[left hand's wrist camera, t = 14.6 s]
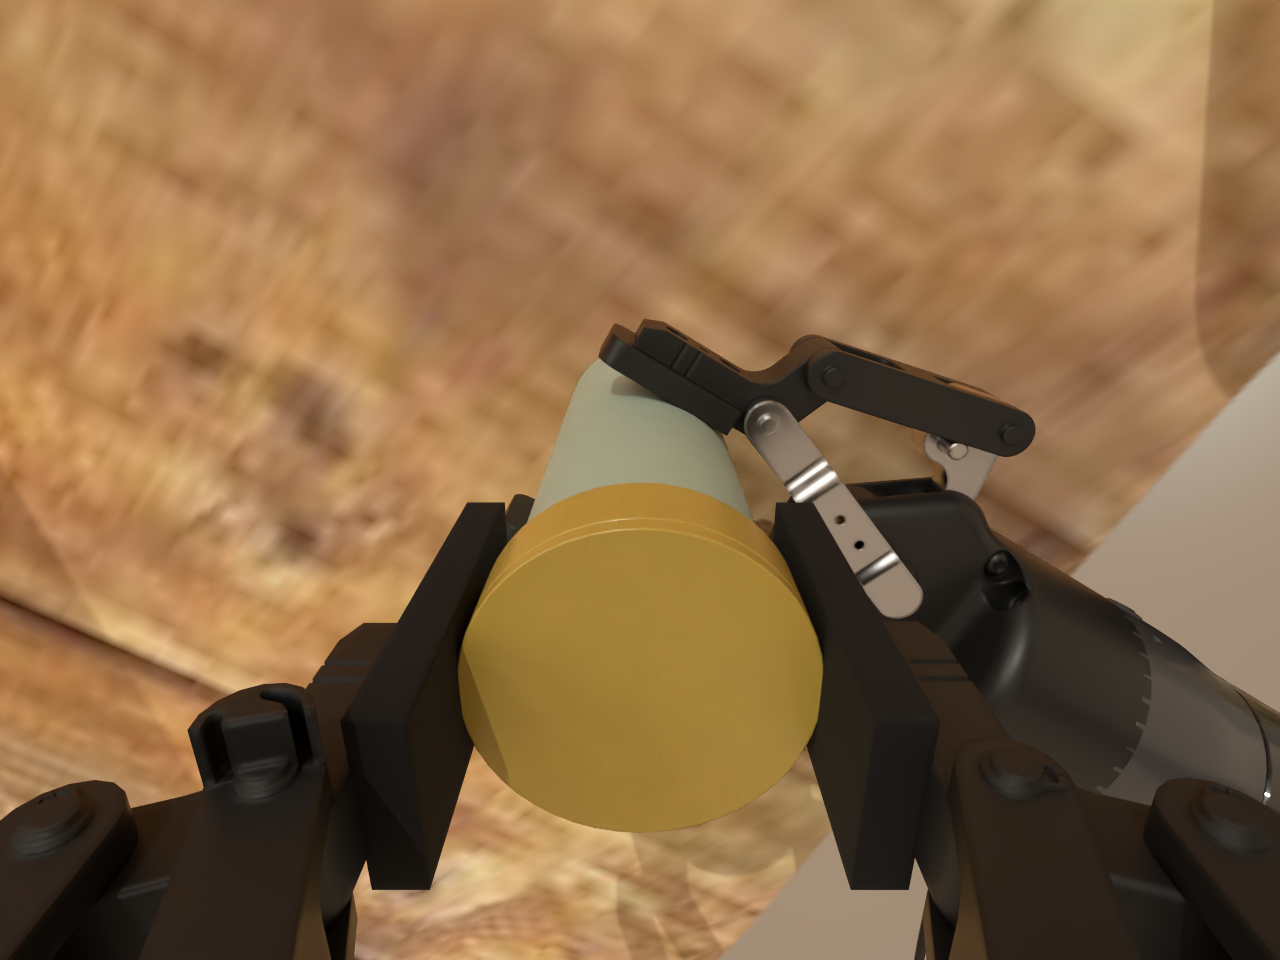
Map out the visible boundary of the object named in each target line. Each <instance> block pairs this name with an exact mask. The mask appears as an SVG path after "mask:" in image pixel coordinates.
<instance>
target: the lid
mask: <svg viewBox="0 0 1280 960" xmlns="http://www.w3.org/2000/svg"><path fill="white" fill-rule="evenodd" d="M822 677H823V655H822V652H821V648H820V644H819V641H818V637H817V634H816V632H815V629H814V627H813V625H812V622H811V620H810V617H809V615H808V612H807V610H806V607H805V605H804V603H803V600H802V598H801V595H800V593H799V590H798V588H797V586H796V583H795V581H794V578H793V576H792V574H791V572H790V570H789V567H788V565H787V563H786V561H785V559H784V558H783V556H782V555H781V553H780V552H779V550H778V549H777V547H776V546H775V544H774V543H773V542H772V541H771V540H770V539H769V537H768V536H767V535H766V534H765V533H764V532H763V531H762V530H761V529H760V528H759V527H758V526H757V525H756V524H754V523H753V522H752V521H751V520H750V519H749V518H747V517H746V516H745V515H743V514H742V513H740V512H739V511H737V510H736V509H734V508H733V507H731V506H729V505H728V504H726V503H723V502H721V501H719V500H717V499H715V498H713V497H711V496H709V495H706V494H703V493H700V492H697V491H694V490H691V489H688V488H683V487H678V486H673V485H668V484H658V483H644V482H641V483H621V484H615V485H609V486H603V487H597V488H594V489H591V490H588V491H584V492H581V493H578V494H575V495H573V496H571V497H568V498H566V499H564V500H562V501H559V502H557V503H555V504H554V505H552V506H551V507H549V508H547V509H546V510H544V511H542V512H541V513H539V514H538V515H536V516H535V517H534V518H533V519H532V520H530V521H529V522H528V523H527V524H525V525H524V526H523V527H522V528H521V529H520V530H519V531H518V532H517V533H516V534H515V535H514V537H513V538H512V539H511V540H510V541H509V542H508V543H507V545H506V546H505V548H504V549H503V551H502V552H501V553H500V555H499V556H498V558H497V560H496V562H495V564H494V566H493V568H492V570H491V572H490V574H489V576H488V578H487V581H486V583H485V586H484V588H483V591H482V593H481V596H480V598H479V600H478V603H477V605H476V608H475V610H474V613H473V615H472V617H471V620H470V622H469V625H468V627H467V630H466V632H465V636H464V639H463V642H462V645H461V648H460V652H459V659H458V679H459V689H460V698H461V707H462V714H463V720H464V723H465V726H466V729H467V732H468V733H469V735H470V737H471V739H472V741H473V743H474V745H475V747H476V749H477V750H478V752H479V753H480V755H481V756H482V758H483V759H484V760H485V762H486V763H487V765H488V766H489V767H490V768H491V769H492V770H493V771H494V772H495V773H496V774H497V776H498V777H499V778H500V779H501V780H502V781H503V782H505V783H506V784H507V785H508V786H509V787H510V788H512V789H513V790H514V791H515V792H516V793H518V794H519V795H521V796H522V797H524V798H525V799H527V800H528V801H530V802H531V803H533V804H534V805H536V806H538V807H540V808H542V809H544V810H546V811H548V812H550V813H552V814H554V815H556V816H559V817H561V818H564V819H567V820H569V821H572V822H575V823H579V824H582V825H586V826H590V827H594V828H599V829H605V830H612V831H620V832H637V833H640V832H662V831H669V830H676V829H683V828H687V827H691V826H695V825H699V824H703V823H706V822H709V821H712V820H714V819H717V818H720V817H723V816H725V815H727V814H729V813H731V812H733V811H735V810H738V809H740V808H742V807H743V806H745V805H747V804H748V803H750V802H751V801H753V800H755V799H756V798H758V797H759V796H761V795H762V794H763V793H765V792H766V791H767V790H768V789H770V788H771V787H772V786H773V785H775V784H776V783H777V782H778V781H779V780H780V779H781V778H782V777H783V776H784V775H785V774H786V773H787V772H788V771H789V770H790V769H791V767H792V766H793V765H794V763H795V762H796V761H797V759H798V758H799V757H800V755H801V754H802V753H803V751H804V749H805V747H806V745H807V744H808V742H809V740H810V738H811V736H812V734H813V732H814V729H815V726H816V724H817V720H818V713H819V704H820V695H821V686H822Z"/></svg>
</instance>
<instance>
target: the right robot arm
mask: <svg viewBox="0 0 1280 960" xmlns="http://www.w3.org/2000/svg"><path fill="white" fill-rule="evenodd" d="M599 358H600V359H601V360H602V361H603V362H604V363H605V364H607V365H608V366H609V367H611V368H612V369H614V370H616V371H617V372H619V373H621V374H623V375H624V376H626V377H628V378H629V379H631V380H633V381H634V382H636V383H638V384H640V385H641V386H643V387H645V388H646V389H648V390H650V391H652V392H653V393H655V394H657V395H658V396H660V397H662V398H663V399H665V400H667V401H669V402H670V403H672V404H674V405H675V406H677V407H679V408H680V409H682V410H684V411H686V412H688V413H690V414H692V415H694V416H695V417H697V418H698V419H699V420H701V421H703V422H704V423H706V424H708V425H709V426H711V427H713V428H715V429H716V430H718V431H720V432H721V433H723V434H725V435H728V433H729V432H730V430H731V429H732V427H733V428H735V429H736V430H738V431H740V432H742V433H743V434H745V435H746V436H747V438H748V439H749V441H750V442H751V443H752V444H753V446H754V447H755V448H756V450H757V451H758V452H759V453H760V455H761V456H762V457H763V458H764V460H765V461H766V462H767V464H768V465H769V466H770V467H771V469H772V470H773V471H774V473H775V474H776V475H777V476H778V478H779V479H780V480H781V482H782V483H783V484H784V485H785V487H786V488H787V490H788V491H789V493H790V494H791V498H790V499H789V500H788V502H787V503H814V505H815V506H816V508H817V510H818V512H819V513H820V515H821V517H822V518H823V520H824V522H825V524H826V525H827V527H828V529H829V530H830V532H831V534H832V536H833V537H834V539H835V541H836V542H837V544H838V546H839V548H840V549H841V551H842V553H843V554H844V556H845V558H846V560H847V561H848V563H849V565H850V567H851V568H852V570H853V572H854V573H855V575H856V577H857V579H858V580H859V582H860V584H861V585H862V587H863V589H864V591H865V592H866V594H867V596H868V597H869V599H870V601H871V603H872V604H873V606H874V608H875V609H876V611H877V613H878V615H879V616H880V618H881V620H882V621H918V622H920V623H921V624H922V625H924V626H925V627H927V628H928V629H929V630H931V631H932V632H934V633H935V634H936V635H938V636H939V637H941V638H942V639H943V641H944V642H945V643H946V645H947V646H948V648H949V649H950V651H951V652H952V654H953V655H954V656H955V658H956V659H957V660H956V661H957V663H959V664H960V665H961V666H962V668H963V669H964V671H965V672H966V674H967V675H968V679H969V681H972V682H973V684H974V685H975V687H976V688H977V689H978V691H979V692H980V694H981V695H982V697H983V698H984V699H985V701H986V702H987V704H988V705H989V707H990V708H991V710H992V711H993V712H994V714H995V715H996V717H997V718H998V720H999V721H1000V722H1001V724H1002V725H1003V727H1004V728H1005V730H1006V731H1007V732H1008V734H1009V735H1010V737H1011V738H1012V740H1015V741H1019V742H1022V743H1025V744H1028V745H1030V746H1032V747H1034V748H1036V749H1037V750H1039V751H1041V752H1043V753H1045V754H1047V755H1049V756H1050V757H1051V758H1052V759H1053V760H1055V761H1056V762H1057V763H1058V764H1059V765H1061V766H1062V767H1063V768H1064V769H1065V770H1066V771H1067V773H1068V774H1069V776H1070V777H1071V779H1072V780H1073V782H1074V783H1075V785H1076V787H1078V788H1081V789H1084V790H1088V791H1091V792H1094V793H1098V794H1102V795H1106V796H1111V797H1115V798H1119V799H1124V800H1128V801H1132V802H1137V803H1141V804H1145V805H1150V806H1151V805H1152V802H1153V799H1154V796H1155V793H1156V790H1157V788H1158V787H1160V786H1161V785H1162V784H1163V783H1165V782H1166V781H1167V780H1171V779H1178V778H1186V777H1188V778H1195V779H1201V780H1207V781H1213V782H1216V783H1219V784H1221V785H1225V786H1227V787H1230V788H1233V789H1235V790H1238V791H1241V792H1243V793H1244V794H1246V795H1248V796H1250V797H1252V798H1254V799H1255V800H1257V801H1259V802H1261V803H1263V804H1264V805H1266V806H1268V807H1269V808H1270V809H1272V810H1273V811H1274V812H1275V813H1277V814H1278V815H1279V816H1280V713H1279V712H1277V711H1275V710H1274V709H1272V708H1271V707H1269V706H1267V705H1265V704H1264V703H1262V702H1261V701H1259V700H1257V699H1256V698H1254V697H1252V696H1251V695H1249V694H1247V693H1246V692H1244V691H1242V690H1241V689H1239V688H1237V687H1236V686H1234V685H1232V684H1231V683H1229V682H1227V681H1226V680H1224V679H1222V678H1220V677H1219V676H1217V675H1216V674H1214V673H1213V672H1212V671H1210V670H1209V669H1208V668H1207V667H1206V666H1205V665H1203V664H1202V663H1201V662H1200V661H1199V660H1198V659H1197V658H1195V657H1194V656H1193V655H1192V654H1191V653H1190V652H1188V651H1187V650H1186V649H1185V648H1184V647H1182V646H1181V645H1180V644H1178V643H1177V642H1175V641H1174V640H1172V639H1171V638H1169V637H1168V636H1166V635H1165V634H1163V633H1162V632H1160V631H1159V630H1157V629H1156V628H1154V627H1152V626H1151V625H1149V624H1147V623H1146V622H1144V621H1143V620H1142V618H1141V617H1140V616H1138V615H1137V614H1136V613H1135V611H1133V610H1132V609H1130V608H1128V607H1127V606H1125V605H1123V604H1121V603H1119V602H1117V601H1114V600H1112V599H1110V598H1105V597H1103V596H1101V595H1100V594H1098V593H1096V592H1095V591H1093V590H1091V589H1090V588H1088V587H1086V586H1085V585H1083V584H1081V583H1080V582H1078V581H1077V580H1075V579H1073V578H1072V577H1070V576H1068V575H1067V574H1065V573H1063V572H1062V571H1060V570H1058V569H1057V568H1055V567H1053V566H1052V565H1050V564H1049V563H1047V562H1045V561H1044V560H1042V559H1040V558H1039V557H1037V556H1035V555H1034V554H1032V553H1030V552H1029V551H1027V550H1025V549H1024V548H1022V547H1020V546H1019V545H1017V544H1016V543H1014V542H1012V541H1011V540H1009V539H1007V538H1006V537H1004V536H1002V535H1001V534H999V533H997V532H996V531H994V530H992V529H991V528H990V527H989V525H988V523H987V521H986V518H985V516H984V513H983V511H982V510H981V508H980V507H979V506H978V504H977V503H976V502H975V499H976V497H977V495H978V494H979V492H980V490H981V488H982V486H983V484H984V482H985V480H986V478H987V477H988V475H989V473H990V471H991V469H992V467H993V465H994V463H995V461H996V460H997V458H998V456H1002V457H1010V456H1014V455H1017V454H1019V453H1021V452H1023V451H1024V450H1025V449H1026V448H1027V447H1028V446H1029V445H1030V444H1031V442H1032V440H1033V438H1034V435H1035V424H1034V421H1033V419H1032V418H1031V417H1030V416H1029V415H1028V414H1027V413H1025V412H1023V411H1021V410H1019V409H1017V408H1016V407H1014V406H1012V405H1010V404H1008V403H1006V402H1004V401H1002V400H1001V399H999V398H997V397H995V396H993V395H991V394H989V393H988V392H986V391H984V390H982V389H980V388H977V387H974V386H971V385H968V384H965V383H962V382H959V381H956V380H953V379H950V378H947V377H944V376H940V375H937V374H934V373H931V372H928V371H925V370H922V369H919V368H916V367H913V366H910V365H907V364H904V363H901V362H898V361H895V360H892V359H889V358H886V357H883V356H880V355H877V354H874V353H870V352H867V351H864V350H861V349H858V348H855V347H852V346H849V345H846V344H843V343H840V342H837V341H834V340H831V339H828V338H825V337H822V336H819V335H806V336H803V337H801V338H800V339H798V340H797V341H796V342H795V343H794V344H793V346H792V347H791V349H790V352H789V353H788V354H787V355H786V356H784V357H783V358H782V359H781V360H779V361H778V362H777V363H775V364H774V365H773V366H771V367H770V368H767V369H765V370H762V371H757V372H751V371H746V370H743V369H741V368H739V367H737V366H736V365H734V364H732V363H731V362H729V361H727V360H726V359H724V358H722V357H721V356H719V355H718V354H716V353H714V352H713V351H711V350H709V349H708V348H706V347H704V346H703V345H701V344H700V343H698V342H696V341H695V340H693V339H691V338H690V337H688V336H686V335H684V334H683V333H682V332H680V331H678V330H677V329H675V328H673V327H672V326H670V325H668V324H667V323H665V322H661V321H655V320H648V319H644V320H643V321H642V323H641V325H640V326H639V328H638V330H637V331H636V333H634V332H632V331H630V330H629V329H627V328H625V327H623V326H621V325H618V324H614V325H613V327H612V329H611V330H610V332H609V334H608V336H607V337H606V339H605V341H604V343H603V344H602V346H601V349H600V353H599ZM827 401H828V402H831V403H835V404H838V405H841V406H844V407H847V408H850V409H853V410H857V411H860V412H863V413H866V414H869V415H872V416H875V417H879V418H882V419H885V420H888V421H891V422H894V423H897V424H901V425H904V426H907V427H910V428H912V432H911V437H912V441H913V443H914V445H915V446H916V447H917V448H918V449H919V450H920V451H921V452H922V453H923V454H925V455H926V456H927V457H928V458H929V459H930V460H932V461H933V463H934V474H933V476H932V477H926V478H914V479H901V480H889V481H877V482H865V483H853V484H844V483H843V482H842V480H841V479H840V478H839V476H838V475H837V474H836V472H835V471H834V470H833V468H832V467H831V466H830V464H829V463H828V462H827V460H826V459H825V457H824V456H823V455H822V453H821V452H820V451H819V449H818V448H817V447H816V445H815V444H814V443H813V441H812V440H811V439H810V437H809V436H808V435H807V433H806V432H805V431H804V429H803V428H802V427H801V425H800V424H799V423H798V422H799V421H801V420H802V419H804V418H805V417H806V416H808V415H809V414H810V413H812V412H813V411H814V410H816V409H817V408H819V407H820V406H821V405H823V404H824V403H825V402H827ZM534 502H535V499H533V498H531V497H529V496H526V495H522V494H517V495H515V496H514V497H513V499H512V501H511V503H510V504H509V506H508V508H507V510H506V511H505V514H506V528H507V541H508V542H509V541H510V540H511V539H512V538H513V537H514V535H515V534H516V533H517V532H518V531H519V530H520V529H521V528H522V527H523V526H524V525H525V524H527V521H528V518H529V516H530V513H531V510H532V507H533V504H534ZM773 537H774V526H773V529H772V531H771V534H770V536H769V539H770V540H771V541H772V542H773Z"/></svg>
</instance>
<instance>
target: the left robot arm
mask: <svg viewBox="0 0 1280 960" xmlns="http://www.w3.org/2000/svg"><path fill="white" fill-rule="evenodd" d="M507 543H508V541H507V528H506V514H505V503H467V504H466V506H465V508H464V509H463V511H462V513H461V514H460V516H459V518H458V520H457V521H456V523H455V525H454V526H453V528H452V530H451V532H450V533H449V535H448V537H447V539H446V540H445V542H444V544H443V545H442V547H441V549H440V551H439V552H438V554H437V556H436V557H435V559H434V561H433V563H432V564H431V566H430V568H429V569H428V571H427V573H426V575H425V576H424V578H423V580H422V581H421V583H420V585H419V587H418V588H417V590H416V592H415V594H414V595H413V597H412V599H411V600H410V602H409V604H408V606H407V607H406V609H405V611H404V612H403V614H402V616H401V618H400V619H399V621H398V623H363V624H362V625H360V626H359V627H358V628H356V629H355V630H353V631H352V632H351V633H349V634H348V635H346V636H345V637H344V638H342V639H341V640H339V642H338V643H337V644H336V646H335V647H334V649H333V650H332V652H331V653H330V655H329V656H328V657H327V659H326V660H325V665H324V666H321V668H320V669H319V670H318V672H317V673H316V675H315V676H314V678H313V682H312V683H309V685H308V686H307V688H306V689H304V688H303V687H300V686H296V685H292V684H288V683H276V684H262V685H258V686H255V687H251V688H247V689H243V690H240V691H237V692H235V693H233V694H231V695H229V696H227V697H225V698H222V699H220V700H218V701H217V702H215V703H214V704H212V705H211V706H210V707H208V708H207V709H206V710H204V711H203V712H202V713H200V714H199V715H198V716H197V718H196V719H195V721H194V722H193V723H192V725H191V726H190V727H189V729H188V734H189V737H190V741H191V744H192V748H193V751H194V755H195V758H196V762H197V765H198V769H199V772H200V776H201V779H202V783H203V786H204V788H203V791H199V792H196V793H193V794H190V795H186V796H182V797H178V798H174V799H169V800H165V801H161V802H156V803H152V804H148V805H143V806H139V807H135V808H130V805H129V802H128V799H127V796H126V793H125V791H124V790H123V789H121V788H120V787H119V786H118V785H116V784H115V783H113V782H105V781H98V780H92V781H86V782H79V783H73V784H68V785H66V786H63V787H60V788H57V789H54V790H51V791H49V792H46V793H43V794H41V795H39V796H37V797H36V798H34V799H32V800H30V801H28V802H26V803H25V804H23V805H21V806H19V807H17V808H16V809H14V810H13V811H12V812H10V813H9V814H8V815H7V816H5V817H4V818H3V819H2V820H0V960H354V950H355V939H356V928H357V913H356V907H355V901H354V896H353V890H354V887H355V885H356V883H357V880H358V878H359V876H360V873H361V871H362V868H363V866H364V864H365V861H367V866H368V871H369V877H370V882H371V887H372V890H430V888H431V884H432V881H433V878H434V875H435V871H436V868H437V865H438V862H439V858H440V855H441V852H442V848H443V845H444V842H445V839H446V835H447V832H448V829H449V826H450V822H451V819H452V816H453V813H454V809H455V806H456V803H457V800H458V796H459V793H460V790H461V787H462V783H463V780H464V777H465V774H466V770H467V767H468V764H469V761H470V757H471V754H472V751H473V748H474V743H473V741H472V739H471V737H470V735H469V733H468V732H467V729H466V726H465V723H464V720H463V714H462V707H461V698H460V689H459V679H458V659H459V652H460V648H461V645H462V642H463V639H464V636H465V632H466V630H467V627H468V625H469V622H470V620H471V617H472V615H473V613H474V610H475V608H476V605H477V603H478V600H479V598H480V596H481V593H482V591H483V588H484V586H485V583H486V581H487V578H488V576H489V574H490V572H491V570H492V568H493V566H494V564H495V562H496V560H497V558H498V556H499V555H500V553H501V552H502V551H503V549H504V548H505V546H506V545H507ZM773 543H774V544H775V546H776V547H777V549H778V550H779V552H780V553H781V555H782V556H783V558H784V559H785V561H786V563H787V565H788V567H789V570H790V572H791V574H792V576H793V578H794V581H795V583H796V586H797V588H798V590H799V593H800V595H801V598H802V600H803V603H804V605H805V607H806V610H807V612H808V615H809V617H810V620H811V622H812V625H813V627H814V629H815V632H816V634H817V637H818V641H819V644H820V648H821V652H822V655H823V677H822V686H821V695H820V704H819V713H818V720H817V724H816V726H815V729H814V732H813V734H812V736H811V738H810V740H809V742H808V744H807V749H808V752H809V755H810V758H811V762H812V765H813V768H814V771H815V775H816V778H817V781H818V784H819V788H820V791H821V794H822V797H823V801H824V804H825V807H826V810H827V814H828V817H829V820H830V823H831V827H832V830H833V833H834V836H835V840H836V843H837V846H838V850H839V853H840V856H841V859H842V862H843V866H844V869H845V872H846V876H847V879H848V882H849V885H850V888H851V890H909V885H910V880H911V875H912V870H913V864H914V859H915V858H916V861H917V863H918V866H919V868H920V870H921V873H922V875H923V877H924V880H925V882H926V885H927V887H928V891H927V896H926V901H925V906H924V911H923V916H922V921H921V926H920V931H919V935H918V940H917V946H916V952H915V959H914V960H924V958H925V953H926V959H927V960H1280V816H1279V815H1278V814H1277V813H1275V812H1274V811H1273V810H1272V809H1270V808H1269V807H1268V806H1266V805H1264V804H1263V803H1261V802H1259V801H1257V800H1255V799H1254V798H1252V797H1250V796H1248V795H1246V794H1244V793H1243V792H1241V791H1238V790H1235V789H1233V788H1230V787H1227V786H1225V785H1221V784H1219V783H1216V782H1213V781H1207V780H1201V779H1195V778H1188V777H1186V778H1178V779H1171V780H1167V781H1166V782H1165V783H1163V784H1162V785H1161V786H1160V787H1158V788H1157V790H1156V793H1155V796H1154V799H1153V802H1152V805H1151V806H1150V805H1145V804H1141V803H1137V802H1132V801H1128V800H1124V799H1119V798H1115V797H1111V796H1106V795H1102V794H1098V793H1094V792H1091V791H1088V790H1084V789H1081V788H1078V787H1076V785H1075V783H1074V782H1073V780H1072V779H1071V777H1070V776H1069V774H1068V773H1067V771H1066V770H1065V769H1064V768H1063V767H1062V766H1061V765H1059V764H1058V763H1057V762H1056V761H1055V760H1053V759H1052V758H1051V757H1050V756H1049V755H1047V754H1045V753H1043V752H1041V751H1039V750H1037V749H1036V748H1034V747H1032V746H1030V745H1028V744H1025V743H1022V742H1019V741H1015V740H1012V738H1011V737H1010V735H1009V734H1008V732H1007V731H1006V730H1005V728H1004V727H1003V725H1002V724H1001V722H1000V721H999V720H998V718H997V717H996V715H995V714H994V712H993V711H992V710H991V708H990V707H989V705H988V704H987V702H986V701H985V699H984V698H983V697H982V695H981V694H980V692H979V691H978V689H977V688H976V687H975V685H974V684H973V682H972V681H969V679H968V675H967V674H966V672H965V671H964V669H963V668H962V666H961V665H960V664H959V663H957V661H956V660H957V659H956V658H955V656H954V655H953V654H952V652H951V651H950V649H949V648H948V646H947V645H946V643H945V642H944V641H943V639H942V638H941V637H939V636H938V635H936V634H935V633H934V632H932V631H931V630H929V629H928V628H927V627H925V626H924V625H922V624H921V623H920V622H918V621H882V620H881V618H880V616H879V615H878V613H877V611H876V609H875V608H874V606H873V604H872V603H871V601H870V599H869V597H868V596H867V594H866V592H865V591H864V589H863V587H862V585H861V584H860V582H859V580H858V579H857V577H856V575H855V573H854V572H853V570H852V568H851V567H850V565H849V563H848V561H847V560H846V558H845V556H844V554H843V553H842V551H841V549H840V548H839V546H838V544H837V542H836V541H835V539H834V537H833V536H832V534H831V532H830V530H829V529H828V527H827V525H826V524H825V522H824V520H823V518H822V517H821V515H820V513H819V512H818V510H817V508H816V506H815V505H814V503H776V510H775V523H774V537H773Z"/></svg>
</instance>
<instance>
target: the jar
mask: <svg viewBox="0 0 1280 960" xmlns="http://www.w3.org/2000/svg"><path fill="white" fill-rule="evenodd" d="M641 482H644V483H658V484H668V485H673V486H678V487H683V488H688V489H691V490H694V491H697V492H700V493H703V494H706V495H709V496H711V497H713V498H715V499H717V500H719V501H721V502H723V503H726V504H728V505H729V506H731V507H733V508H734V509H736V510H737V511H739V512H740V513H742V514H743V515H745V516H746V517H747V518H749V519H750V520H751V521H752V522H753V523H754V521H753V518H752V515H751V512H750V510H749V507H748V504H747V501H746V498H745V496H744V493H743V490H742V487H741V485H740V482H739V479H738V476H737V474H736V471H735V468H734V465H733V462H732V460H731V457H730V454H729V451H728V449H727V446H726V443H725V440H724V438H723V435H722V433H721V432H720V431H718V430H716V429H715V428H713V427H711V426H709V425H708V424H706V423H704V422H703V421H701V420H699V419H698V418H697V417H695V416H694V415H692V414H690V413H688V412H686V411H684V410H682V409H680V408H679V407H677V406H675V405H674V404H672V403H670V402H669V401H667V400H665V399H663V398H662V397H660V396H658V395H657V394H655V393H653V392H652V391H650V390H648V389H646V388H645V387H643V386H641V385H640V384H638V383H636V382H634V381H633V380H631V379H629V378H628V377H626V376H624V375H623V374H621V373H619V372H617V371H616V370H614V369H612V368H611V367H609V366H608V365H607V364H605V363H604V362H603V361H602V360H601V359H600V358H599V359H598V360H596V361H595V362H594V363H593V364H592V365H591V366H590V367H589V368H588V369H587V370H586V371H585V372H584V374H583V375H582V376H581V378H580V379H579V381H578V383H577V385H576V387H575V390H574V392H573V395H572V398H571V401H570V404H569V406H568V409H567V412H566V415H565V418H564V420H563V423H562V426H561V429H560V432H559V434H558V437H557V440H556V443H555V446H554V448H553V451H552V454H551V457H550V460H549V462H548V465H547V468H546V471H545V474H544V476H543V479H542V482H541V485H540V488H539V490H538V493H537V496H536V499H535V502H534V504H533V507H532V510H531V513H530V516H529V518H528V521H527V523H528V522H529V521H530V520H532V519H533V518H534V517H535V516H536V515H538V514H539V513H541V512H542V511H544V510H546V509H547V508H549V507H551V506H552V505H554V504H555V503H557V502H559V501H562V500H564V499H566V498H568V497H571V496H573V495H575V494H578V493H581V492H584V491H588V490H591V489H594V488H597V487H603V486H609V485H615V484H621V483H641ZM754 524H755V523H754Z"/></svg>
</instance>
